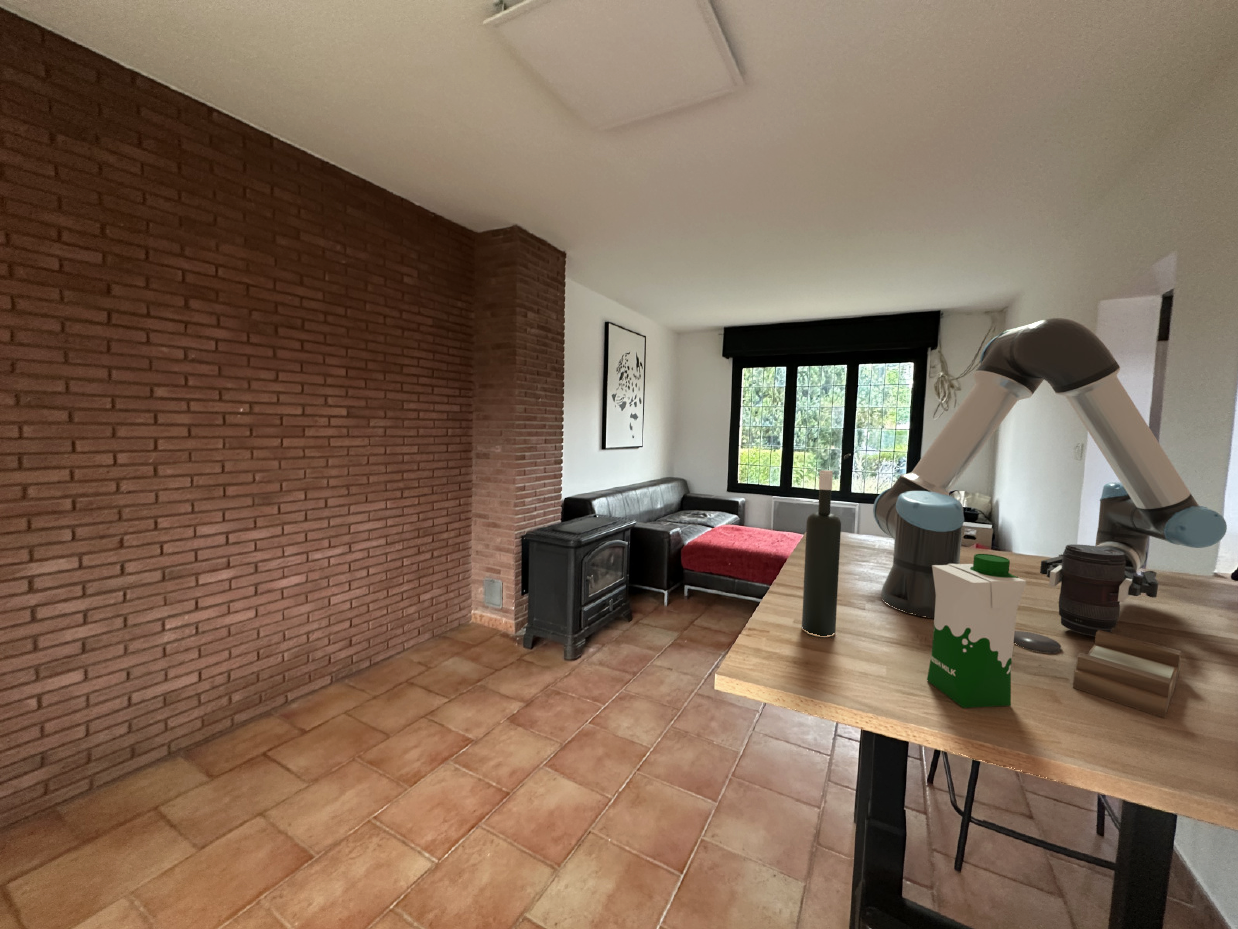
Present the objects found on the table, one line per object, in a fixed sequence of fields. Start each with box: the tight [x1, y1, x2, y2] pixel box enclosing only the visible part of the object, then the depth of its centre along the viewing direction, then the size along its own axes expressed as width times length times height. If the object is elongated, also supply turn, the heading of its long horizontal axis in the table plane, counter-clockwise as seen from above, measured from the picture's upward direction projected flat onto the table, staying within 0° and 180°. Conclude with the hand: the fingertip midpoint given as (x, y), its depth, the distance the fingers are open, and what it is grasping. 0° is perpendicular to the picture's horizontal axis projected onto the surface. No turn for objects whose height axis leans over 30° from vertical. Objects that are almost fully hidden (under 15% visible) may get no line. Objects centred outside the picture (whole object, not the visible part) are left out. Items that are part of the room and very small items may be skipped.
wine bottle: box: [801, 469, 842, 636], centre depth 88 cm, size 6×6×30 cm
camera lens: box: [1058, 544, 1126, 637], centre depth 87 cm, size 8×8×15 cm
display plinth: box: [1072, 630, 1182, 719], centre depth 72 cm, size 17×9×4 cm, turn 127°
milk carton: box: [926, 553, 1027, 709], centre depth 69 cm, size 9×9×20 cm
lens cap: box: [1013, 630, 1062, 654], centre depth 85 cm, size 7×7×1 cm
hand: (1085, 586), depth 84 cm, fingers closed on camera lens, 8 cm apart
